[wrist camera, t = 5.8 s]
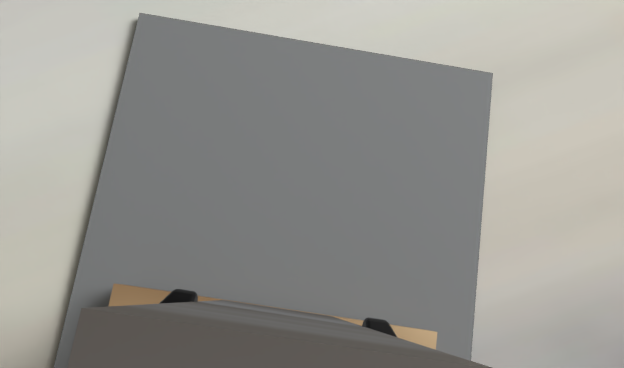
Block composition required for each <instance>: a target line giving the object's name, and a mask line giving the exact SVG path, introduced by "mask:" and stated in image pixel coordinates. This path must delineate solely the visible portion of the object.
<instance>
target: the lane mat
mask: <svg viewBox="0 0 624 368" xmlns="http://www.w3.org/2000/svg"><path fill="white" fill-rule="evenodd" d="M492 77H493V73H489V72H483V71H477V70H471V69H465V68H460V67H454V66H448V65H442V64H436V63H430V62H425V61H419V60H413V59H407V58H401V57H395V56H389V55H384V54H378V53H372V52H366V51H360V50H354V49H348V48H343V47H337V46H331V45H325V44H319V43H313V42H307V41H302V40H296V39H290V38H284V37H278V36H272V35H266V34H261V33H255V32H249V31H243V30H237V29H231V28H225V27H220V26H214V25H208V24H202V23H196V22H190V21H185V20H179V19H173V18H167V17H161V16H155V15H149V14H144V13H139V17H138V22H137V26H136V30H135V34H134V38H133V42H132V46H131V50H130V55H129V59H128V63H127V67H126V71H125V75H124V79H123V83H122V88H121V92H120V96H119V100H118V104H117V108H116V112H115V116H114V121H113V125H112V129H111V133H110V137H109V141H108V145H107V149H106V154H105V158H104V162H103V166H102V170H101V174H100V178H99V182H98V187H97V191H96V195H95V199H94V203H93V207H92V211H91V215H90V220H89V224H88V228H87V232H86V236H85V240H84V244H83V248H82V253H81V257H80V261H79V265H78V269H77V273H76V277H75V281H74V286H73V290H72V294H71V298H70V302H69V306H68V310H67V314H66V319H65V323H64V327H63V331H62V335H61V339H60V343H59V347H58V352H57V356H56V360H55V364H54V368H67V367H68V363H69V358H70V354H71V350H72V346H73V342H74V337H75V333H76V329H77V325H78V320H79V316H80V312H81V308H91V307H108V306H109V302H110V297H111V293H112V288H113V284H124V285H131V286H137V287H144V288H151V289H157V290H164V291H171V292H172V291H173V290H175V289H183V290H190V291H195V292H196V293H197V295H198V296H204V297H211V298H218V299H224V300H231V301H238V302H244V303H251V304H258V305H264V306H271V307H278V308H284V309H291V310H298V311H304V312H311V313H318V314H324V315H331V316H338V317H344V318H351V319H358V320H365V318H368V317H369V318H376V319H382V320H386V321H387V322H388V323H389V324H391V325H398V326H404V327H411V328H418V329H424V330H430V331H435V332H437V342H436V350H438V351H441V352H444V353H447V354H451V355H454V356H457V357H460V358H463V359H466V360H469V361H471V351H472V338H473V325H474V312H475V299H476V286H477V273H478V260H479V247H480V234H481V221H482V207H483V194H484V181H485V168H486V155H487V142H488V129H489V116H490V103H491V90H492Z"/></svg>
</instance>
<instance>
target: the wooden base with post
mask: <svg viewBox="0 0 624 368" xmlns="http://www.w3.org/2000/svg"><path fill="white" fill-rule="evenodd" d="M170 293H171V291H164V290H157V289H151V288H144V287H137V286H131V285H124V284H113V288H112V293H111V297H110V302H109V306H108V307H91V308H81V312H80V316H79V320H78V325H77V329H76V333H75V337H74V342H73V346H72V350H71V354H70V358H69V363H68V367H67V368H491V367H488V366H485V365H482V364H479V363H475V362H472V361H469V360H466V359H463V358H460V357H457V356H454V355H451V354H447V353H444V352H441V351H438V350H436V342H437V332H435V331H430V330H424V329H418V328H411V327H404V326H398V325H391V324H390V326H391V327H392V329H393V331H394V332H395V334H396V336H397V337H395V336H391V335H388V334H385V333H382V332H379V331H376V330H373V329H370V328H366V327H363V326H362V324H363V321H364V320H358V319H351V318H344V317H338V316H331V315H324V314H318V313H311V312H304V311H298V310H291V309H284V308H278V307H271V306H264V305H258V304H251V303H244V302H238V301H231V300H224V299H218V298H211V297H204V296H198V302H179V303H161V304H159V303H160V302H161V301H162V300H163V299H164V298H165V297H166V296H167V295H168V294H170Z"/></svg>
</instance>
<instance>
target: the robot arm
mask: <svg viewBox="0 0 624 368" xmlns="http://www.w3.org/2000/svg"><path fill="white" fill-rule="evenodd" d="M179 302H198V295H197V293H196V292H195V291H190V290H183V289H175V290H173V291H172V292H171V293H170V294H168V295H167V296H166V297H165V298H164V299H163V300H162V301H161V302H160V303H159V304H161V303H179ZM362 326H363V327H366V328H370V329H373V330H376V331H379V332H382V333H385V334H388V335H391V336H395V337H397V336H396V334H395V332H394V331H393V329H392V327H391V326H390V324H389V323H388V322H387V321H386V320H382V319H376V318H369V317H368V318H365V320H364V321H363V324H362Z"/></svg>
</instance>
